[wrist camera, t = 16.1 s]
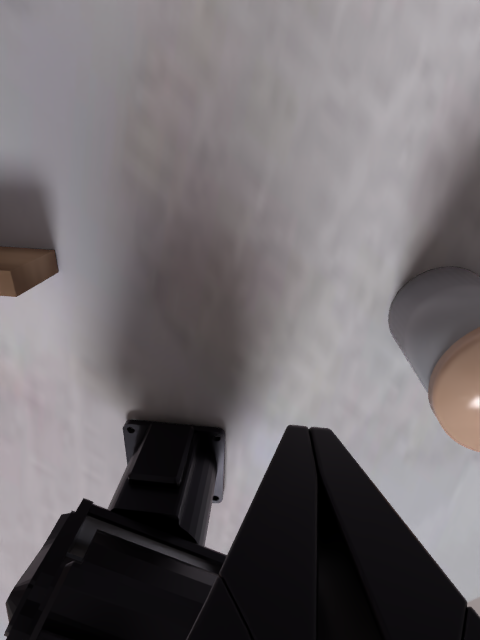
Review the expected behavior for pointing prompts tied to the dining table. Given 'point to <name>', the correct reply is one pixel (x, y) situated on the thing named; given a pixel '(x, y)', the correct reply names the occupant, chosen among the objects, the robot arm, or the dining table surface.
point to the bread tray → (24, 269)
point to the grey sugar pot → (444, 345)
